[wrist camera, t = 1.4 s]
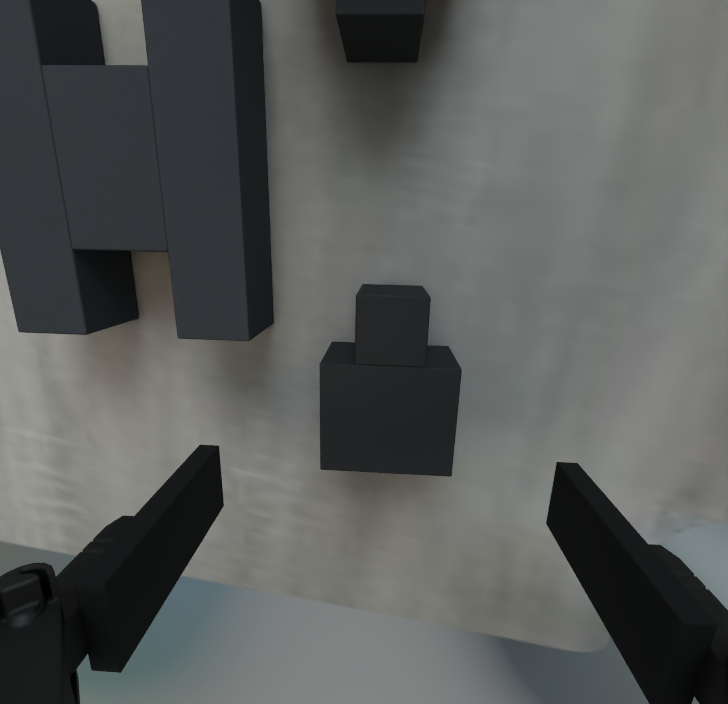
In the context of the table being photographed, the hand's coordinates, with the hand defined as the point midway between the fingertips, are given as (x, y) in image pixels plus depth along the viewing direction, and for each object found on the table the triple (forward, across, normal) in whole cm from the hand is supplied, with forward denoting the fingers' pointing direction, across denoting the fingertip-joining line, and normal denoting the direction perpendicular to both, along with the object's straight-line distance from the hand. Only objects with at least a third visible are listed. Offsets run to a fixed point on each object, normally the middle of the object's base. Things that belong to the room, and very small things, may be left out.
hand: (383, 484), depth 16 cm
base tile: (+10, -13, +12) cm, 20 cm away
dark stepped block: (+9, 0, +2) cm, 10 cm away
